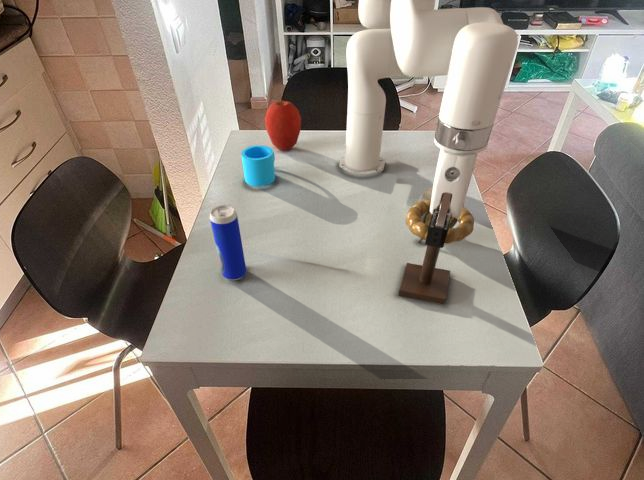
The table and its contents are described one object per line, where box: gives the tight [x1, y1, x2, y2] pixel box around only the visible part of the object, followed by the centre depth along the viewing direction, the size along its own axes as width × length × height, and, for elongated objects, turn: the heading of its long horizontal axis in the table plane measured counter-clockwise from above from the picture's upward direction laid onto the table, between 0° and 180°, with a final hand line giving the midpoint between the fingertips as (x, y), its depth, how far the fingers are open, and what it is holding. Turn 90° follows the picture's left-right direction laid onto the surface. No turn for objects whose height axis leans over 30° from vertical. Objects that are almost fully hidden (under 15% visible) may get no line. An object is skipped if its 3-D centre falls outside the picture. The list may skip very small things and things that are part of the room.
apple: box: [264, 97, 302, 152], centre depth 123 cm, size 10×10×14 cm
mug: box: [240, 144, 276, 187], centre depth 113 cm, size 12×8×8 cm
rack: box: [397, 245, 451, 306], centre depth 82 cm, size 9×9×14 cm
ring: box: [405, 200, 475, 245], centre depth 77 cm, size 12×12×2 cm
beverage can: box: [209, 204, 247, 282], centre depth 85 cm, size 5×5×15 cm
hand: (435, 239), depth 75 cm, fingers closed on ring, 2 cm apart
